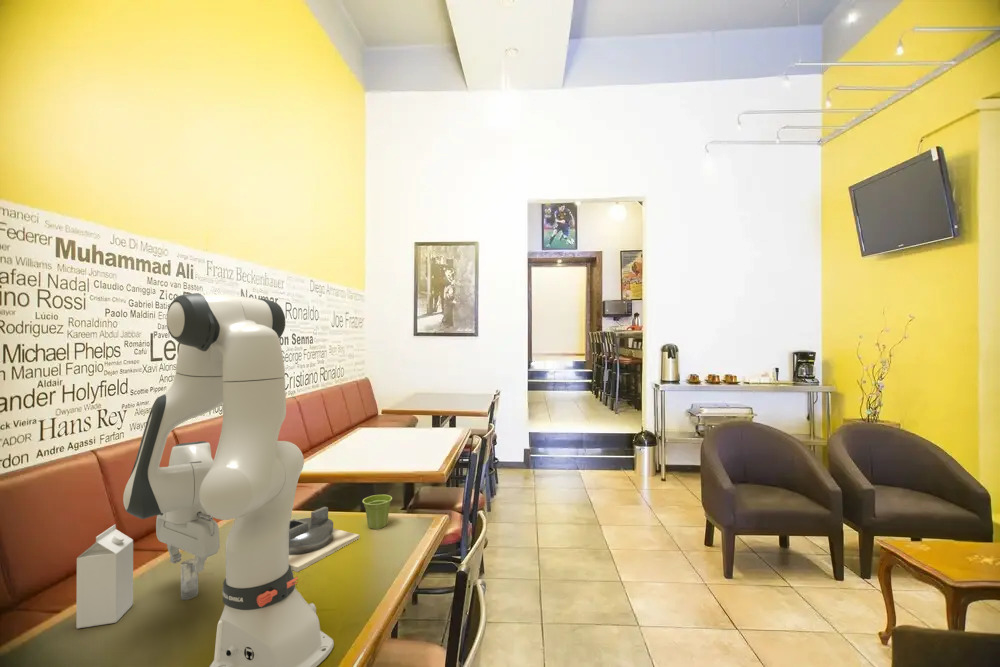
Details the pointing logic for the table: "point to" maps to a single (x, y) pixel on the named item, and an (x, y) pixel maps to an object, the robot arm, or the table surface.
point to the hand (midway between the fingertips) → (186, 566)
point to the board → (322, 550)
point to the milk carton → (105, 579)
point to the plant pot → (377, 510)
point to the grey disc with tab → (310, 532)
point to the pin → (188, 580)
